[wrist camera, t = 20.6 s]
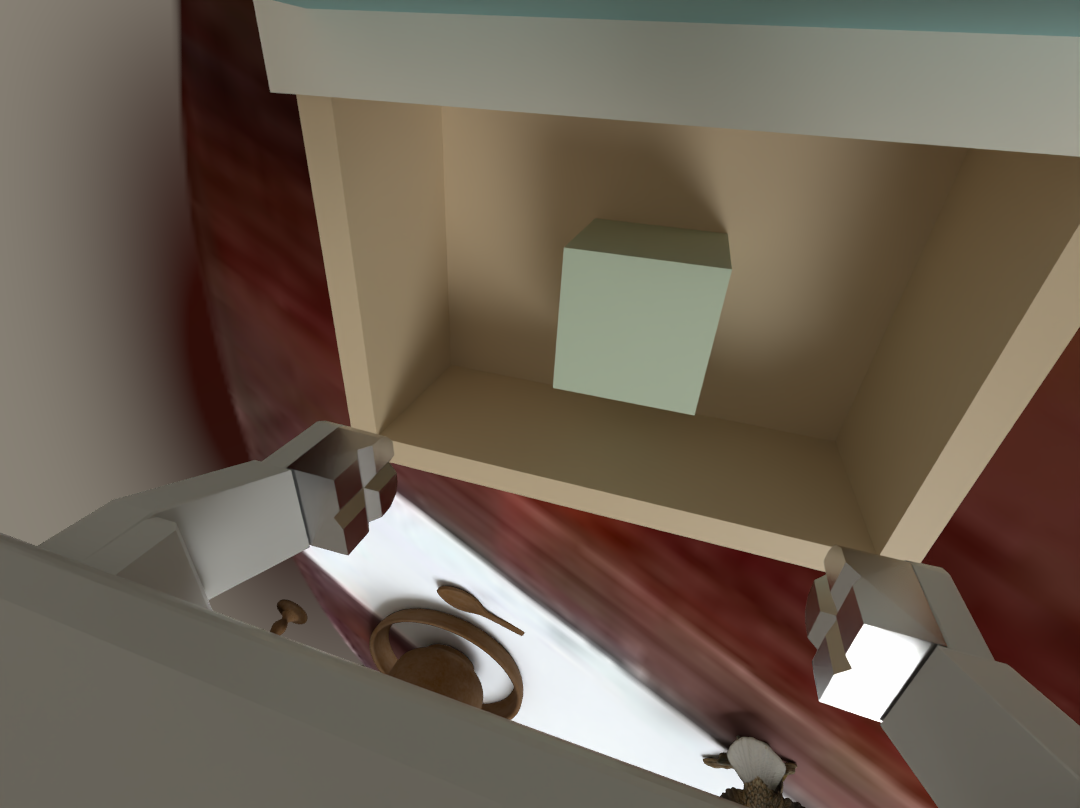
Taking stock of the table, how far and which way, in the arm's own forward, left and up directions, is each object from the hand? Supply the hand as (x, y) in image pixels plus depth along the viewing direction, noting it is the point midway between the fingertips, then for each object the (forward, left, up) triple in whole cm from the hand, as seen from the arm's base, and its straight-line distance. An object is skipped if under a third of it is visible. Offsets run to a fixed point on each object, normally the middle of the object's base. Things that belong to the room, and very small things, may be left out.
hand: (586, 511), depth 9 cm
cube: (+1, 0, -11) cm, 11 cm away
